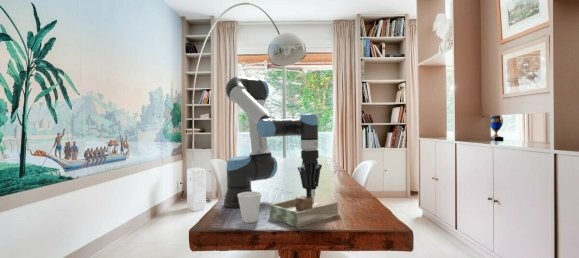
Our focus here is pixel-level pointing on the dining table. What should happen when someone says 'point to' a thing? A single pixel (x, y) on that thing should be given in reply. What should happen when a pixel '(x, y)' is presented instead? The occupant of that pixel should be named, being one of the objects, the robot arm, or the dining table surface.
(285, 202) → the box
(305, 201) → the block
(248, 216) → the cup
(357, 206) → the dining table surface
